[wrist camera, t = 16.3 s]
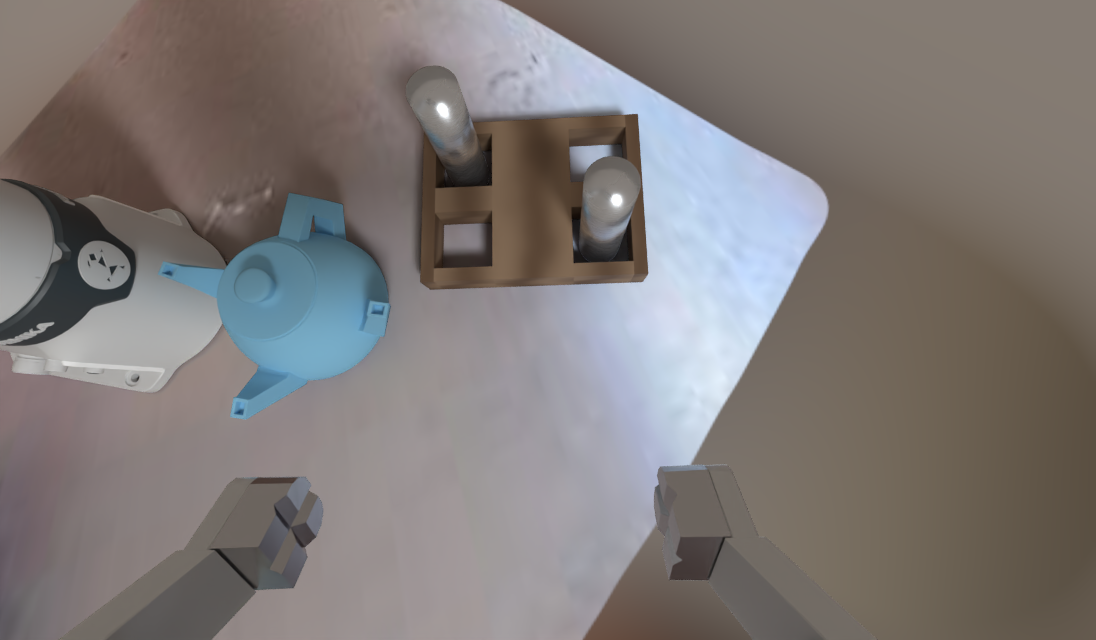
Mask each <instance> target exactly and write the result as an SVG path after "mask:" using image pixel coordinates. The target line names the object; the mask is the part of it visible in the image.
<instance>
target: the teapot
mask: <svg viewBox="0 0 1096 640" xmlns="http://www.w3.org/2000/svg"><path fill="white" fill-rule="evenodd" d="M313 216H314V222H315V232H310V230H311V224H312V218H313ZM157 275H161V276H163V277H166V278H169V279H171V280H174V281H176V282H179V283H182V284H184V285H187V286H190V287H192V288H195V289H197V290H199V291H201V292H204V293H206V294H208V295H210V296H212V297H214V298H217V305H218V310H219V314H220V318H221V320H222V323H223V325H224V327H225V329H226V330H227V332H228V334H229V336H230V337H231V339H232V340H233V342H234V343H235V344H236V346H237V347H238V348H239V349H240V350H241V352H243V353H244V354H245V355H246V356H247V357H248V358H249V359H251V360H252V361H253V362H255V363H256V364H258V365H259V367H258V369H257V372H256V373H255V375H254V376H253V377H252V378H251V380H250V381H249V382H248V383H247V385H246V386H245V387H244V388H243V389H242V391H241V392H240V393H239V394H238V396H237V397H234V399H233V404H232V410H231V415H230V417H234V418H240V419H248V418H249V417H251V416H253V415H254V414H256V413H258V412H260V411H261V410H263V409H265V408H266V407H268V406H270V405H271V404H273V403H275V402H276V401H278V400H280V399H282V398H283V397H285V396H287V395H288V394H290V393H292V392H293V391H295V390H297V389H299V388H300V387H302V386H304V385H305V384H307V381H308V380H320V379H326V378H330V377H334V376H336V375H339V374H341V373H343V372H345V371H347V370H349V369H351V368H352V367H353V366H355V365H356V364H358V363H359V362H360V361H361V360H362V359H363V358H365V357H366V356H367V355H368V353H369V352H370V351H371V350H372V349H373V347H374V346H375V344H376V343H377V341H378V340H379V338H380V336H383V337H384V336H385V331H386V326H387V322H388V317H389V312H390V308H391V306H390V304H389V301H388V291H387V286H386V282H385V279H384V276H383V274H382V272H381V270H380V268H379V267H378V265H377V264H376V262H375V261H374V260H373V259H372V258H371V257H370V255H369V254H367V253H366V252H365V251H364V250H362V249H361V248H359V247H357V246H356V245H354V244H352V243H351V242H349V241H346V233H345V223H344V212H343V204H339V203H336V202H332V201H328V200H324V199H319V198H314V197H309V196H304V195H298V194H293V193H289V194H288V198H287V202H286V206H285V210H284V214H283V218H282V222H281V226H280V230H279V235H277V236H273V237H270V238H267V239H264V240H261V241H259V242H256V243H254V244H252V245H250V246H249V247H247V248H245V249H244V250H242V251H241V252H240V253H238V254H237V255H236V256H235V257H234V258H233V259H232V260H231V261H230V263H229V264H228V265H227V267H226V268H225V269H218V268H210V267H202V266H194V265H185V264H177V263H169V262H165V261H163V263H162V265H161V268H160V270H159V272H158V274H157Z"/></svg>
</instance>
